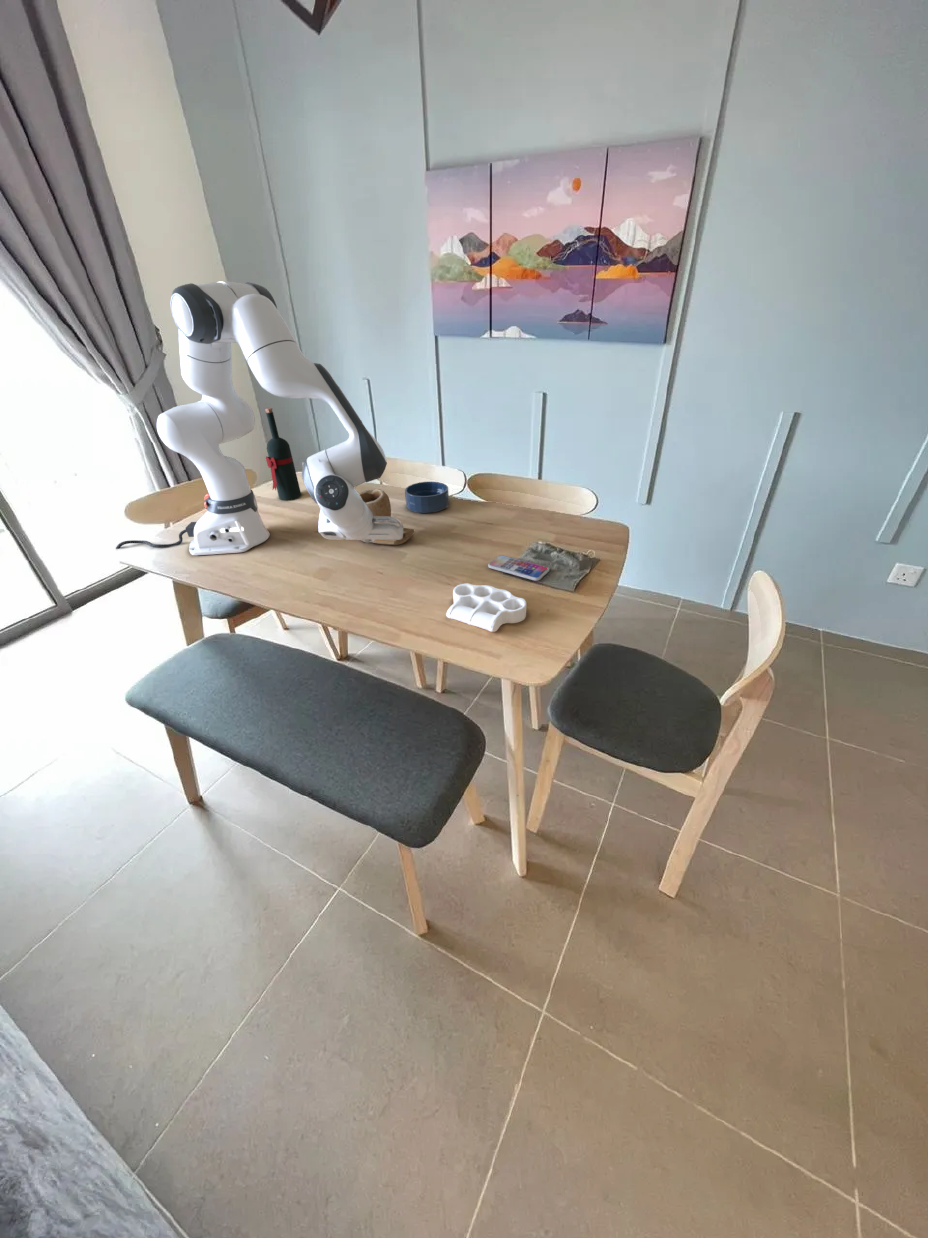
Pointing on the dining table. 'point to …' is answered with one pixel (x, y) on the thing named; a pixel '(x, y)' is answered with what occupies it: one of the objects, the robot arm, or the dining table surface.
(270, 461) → the wine bottle
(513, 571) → the smartphone
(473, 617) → the knuckle duster
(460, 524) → the dining table surface
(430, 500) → the bowl
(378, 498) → the stone cup
